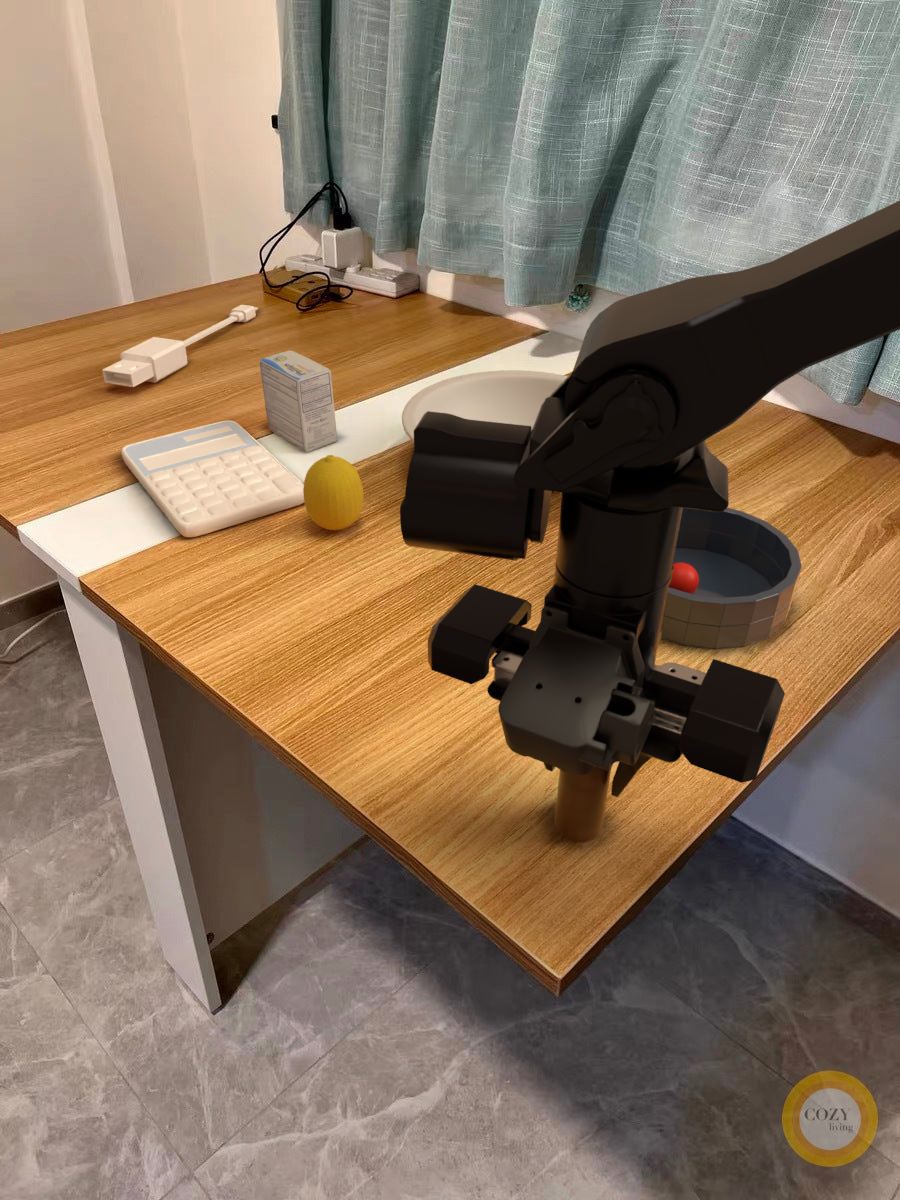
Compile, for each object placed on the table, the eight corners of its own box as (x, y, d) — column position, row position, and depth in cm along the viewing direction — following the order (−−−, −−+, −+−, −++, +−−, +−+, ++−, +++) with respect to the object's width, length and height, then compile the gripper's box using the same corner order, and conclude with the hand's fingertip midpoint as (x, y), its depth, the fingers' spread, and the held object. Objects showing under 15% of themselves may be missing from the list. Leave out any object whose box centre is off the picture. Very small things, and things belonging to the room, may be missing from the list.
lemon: (338, 553, 82) (331, 476, 77) (295, 534, 84) (286, 458, 79) (377, 528, 85) (373, 453, 80) (335, 510, 88) (329, 436, 83)
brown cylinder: (608, 820, 57) (629, 692, 50) (591, 854, 55) (610, 725, 48) (564, 802, 58) (579, 675, 51) (546, 835, 56) (559, 707, 49)
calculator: (185, 543, 83) (181, 525, 82) (120, 459, 96) (116, 443, 95) (313, 503, 89) (311, 486, 88) (235, 430, 102) (233, 414, 101)
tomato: (700, 590, 76) (706, 561, 74) (690, 609, 74) (696, 579, 72) (666, 580, 77) (671, 552, 75) (655, 598, 75) (660, 569, 73)
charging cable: (269, 321, 134) (266, 298, 133) (137, 394, 109) (132, 368, 107) (240, 317, 136) (237, 295, 134) (103, 388, 111) (97, 362, 109)
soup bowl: (573, 412, 106) (578, 359, 102) (672, 509, 88) (683, 449, 84) (379, 439, 100) (376, 383, 96) (442, 549, 82) (442, 487, 78)
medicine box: (338, 442, 100) (332, 368, 95) (305, 454, 97) (297, 379, 92) (299, 419, 105) (292, 348, 99) (267, 430, 102) (257, 358, 97)
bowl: (802, 577, 79) (816, 529, 76) (763, 676, 68) (778, 625, 65) (638, 533, 85) (645, 487, 82) (578, 618, 74) (584, 568, 71)
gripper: (368, 595, 42) (382, 812, 51) (765, 729, 35) (699, 953, 44) (475, 493, 50) (470, 697, 59) (818, 585, 43) (752, 801, 52)
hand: (584, 778), depth 54 cm, fingers open, 4 cm apart
